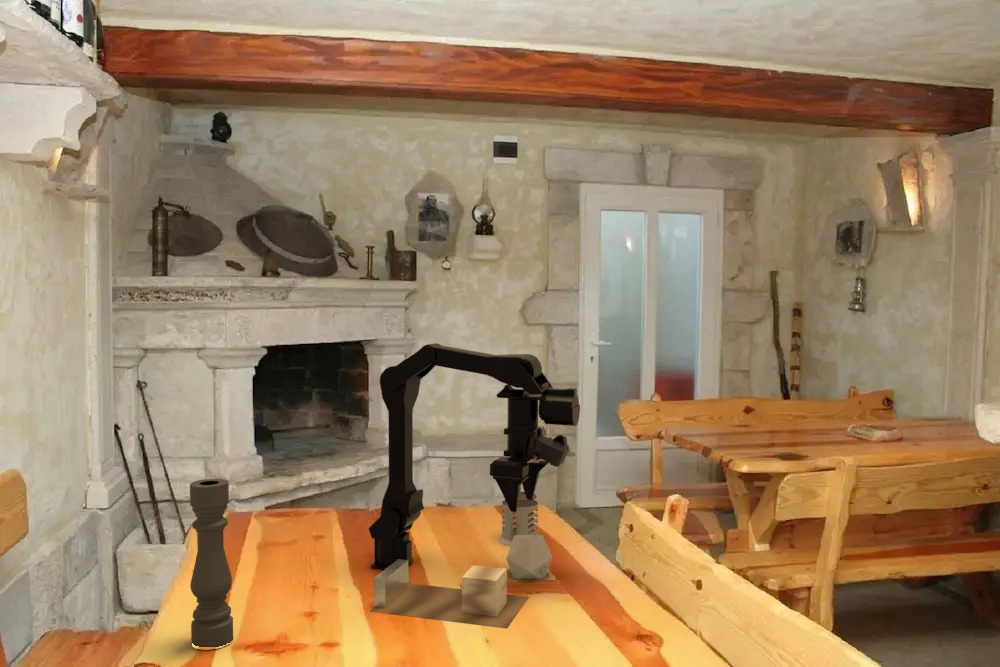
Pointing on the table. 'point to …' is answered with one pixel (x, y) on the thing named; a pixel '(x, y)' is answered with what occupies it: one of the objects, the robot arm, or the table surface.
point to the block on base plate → (432, 600)
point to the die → (529, 557)
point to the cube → (484, 590)
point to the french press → (519, 519)
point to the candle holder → (210, 565)
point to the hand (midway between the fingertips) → (521, 505)
